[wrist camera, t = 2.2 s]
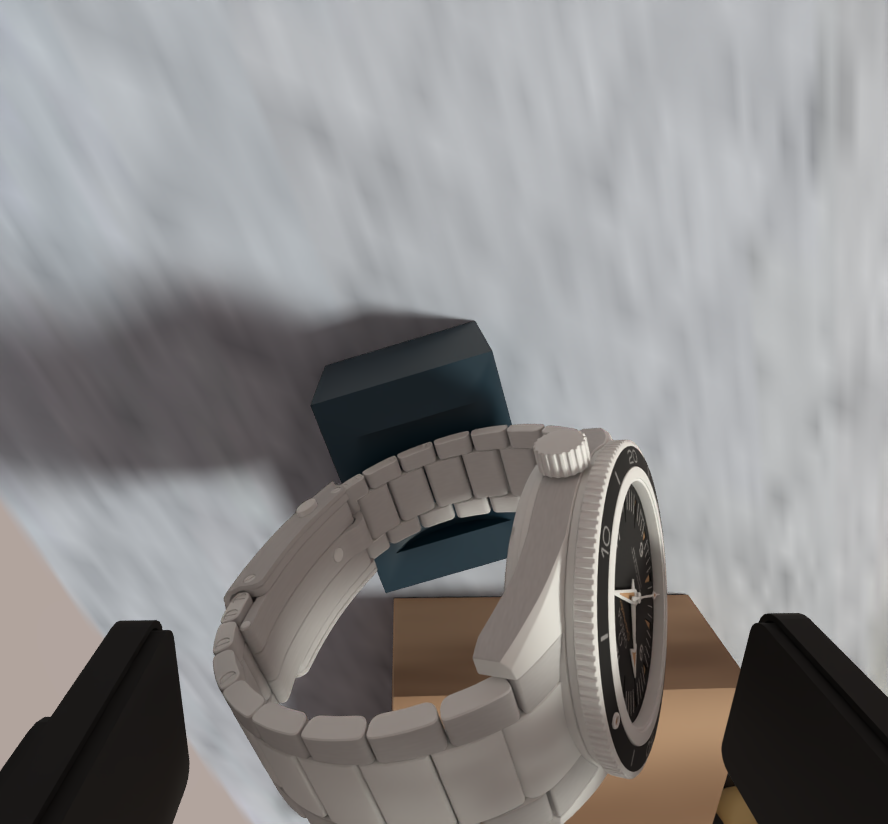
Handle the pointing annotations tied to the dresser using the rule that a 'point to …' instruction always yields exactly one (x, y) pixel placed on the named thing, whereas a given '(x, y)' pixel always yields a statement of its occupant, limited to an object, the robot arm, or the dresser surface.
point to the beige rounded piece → (733, 808)
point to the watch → (447, 552)
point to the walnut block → (680, 723)
